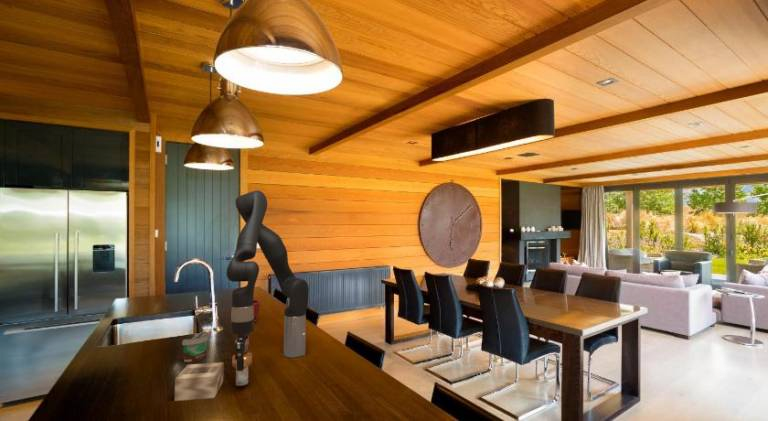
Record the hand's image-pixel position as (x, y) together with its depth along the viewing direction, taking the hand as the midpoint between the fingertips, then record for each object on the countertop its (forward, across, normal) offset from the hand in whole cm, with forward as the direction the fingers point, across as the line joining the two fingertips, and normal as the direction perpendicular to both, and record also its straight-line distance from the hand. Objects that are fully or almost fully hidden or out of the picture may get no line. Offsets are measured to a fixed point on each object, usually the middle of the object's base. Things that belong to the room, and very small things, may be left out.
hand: (242, 366), depth 127 cm
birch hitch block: (+7, 0, +14) cm, 15 cm away
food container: (+8, +30, +22) cm, 38 cm away
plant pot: (+8, +86, +12) cm, 87 cm away
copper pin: (+6, 0, 0) cm, 6 cm away
